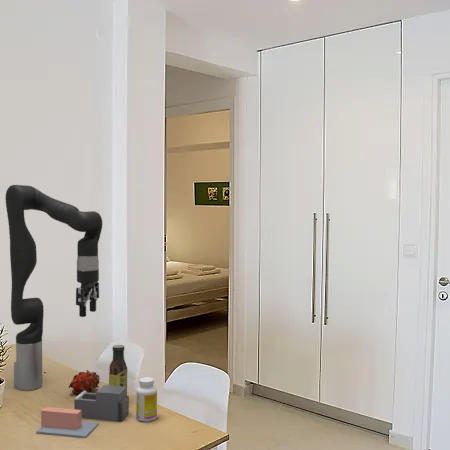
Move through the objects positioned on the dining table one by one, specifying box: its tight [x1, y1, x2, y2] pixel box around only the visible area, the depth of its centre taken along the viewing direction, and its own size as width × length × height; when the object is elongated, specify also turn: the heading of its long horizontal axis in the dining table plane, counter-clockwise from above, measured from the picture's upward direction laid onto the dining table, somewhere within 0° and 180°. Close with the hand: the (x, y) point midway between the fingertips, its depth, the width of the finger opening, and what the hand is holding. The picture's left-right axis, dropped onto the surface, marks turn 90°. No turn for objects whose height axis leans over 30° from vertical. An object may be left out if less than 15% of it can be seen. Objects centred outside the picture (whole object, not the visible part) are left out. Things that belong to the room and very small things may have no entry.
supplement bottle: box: [135, 376, 158, 423], centre depth 185 cm, size 7×7×13 cm
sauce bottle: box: [108, 344, 128, 388], centre depth 198 cm, size 6×6×20 cm
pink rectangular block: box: [40, 406, 83, 430], centre depth 176 cm, size 12×3×5 cm, turn 80°
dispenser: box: [73, 384, 130, 423], centre depth 186 cm, size 16×7×9 cm, turn 80°
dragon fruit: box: [68, 369, 101, 394], centre depth 207 cm, size 8×8×12 cm
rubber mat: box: [35, 420, 100, 439], centre depth 176 cm, size 16×10×1 cm, turn 80°
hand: (87, 314), depth 200 cm, fingers open, 8 cm apart
